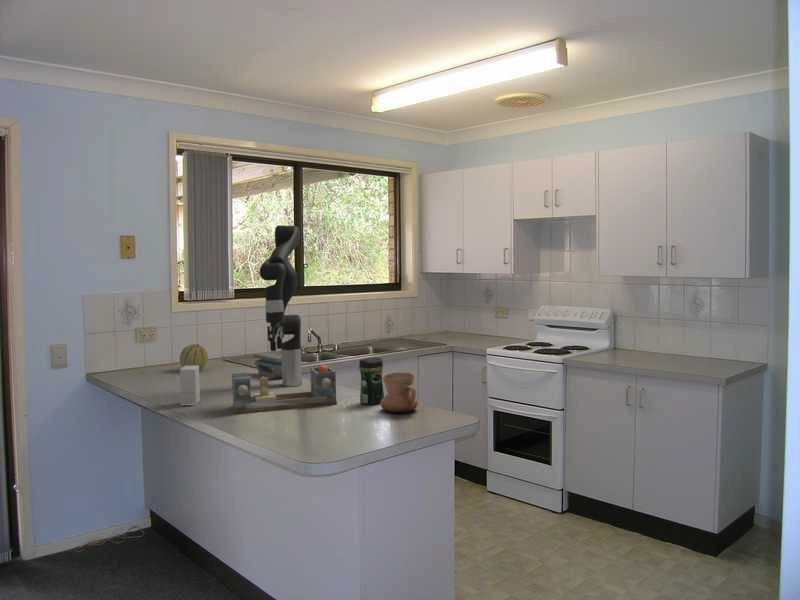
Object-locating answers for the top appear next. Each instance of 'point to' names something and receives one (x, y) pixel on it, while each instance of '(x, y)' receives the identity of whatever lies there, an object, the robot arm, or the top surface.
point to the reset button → (322, 368)
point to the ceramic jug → (399, 392)
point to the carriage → (264, 392)
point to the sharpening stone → (269, 365)
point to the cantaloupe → (193, 356)
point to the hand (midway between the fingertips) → (276, 349)
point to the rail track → (318, 396)
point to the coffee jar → (371, 380)
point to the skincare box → (189, 385)
